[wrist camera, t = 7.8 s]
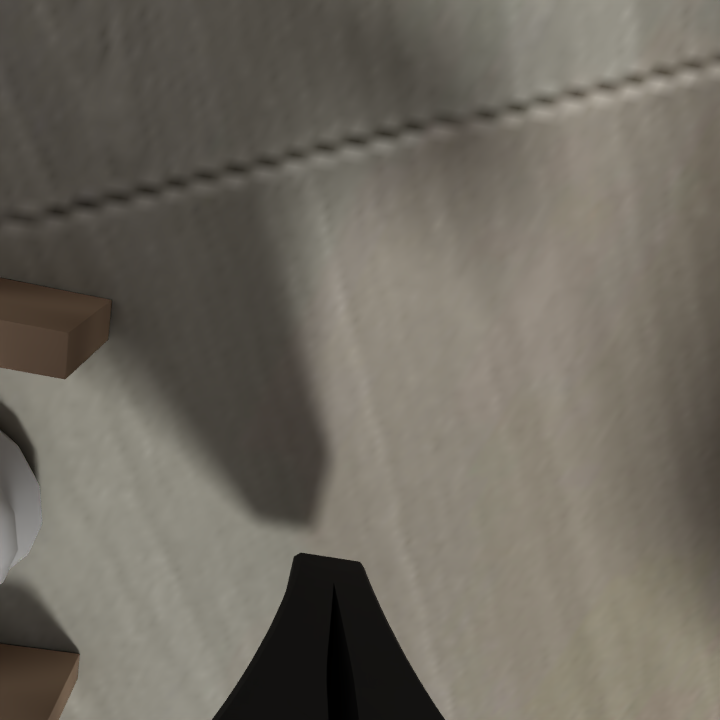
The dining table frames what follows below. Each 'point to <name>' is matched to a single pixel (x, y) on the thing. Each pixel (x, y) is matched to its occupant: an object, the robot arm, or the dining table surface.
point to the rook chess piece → (16, 505)
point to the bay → (60, 359)
